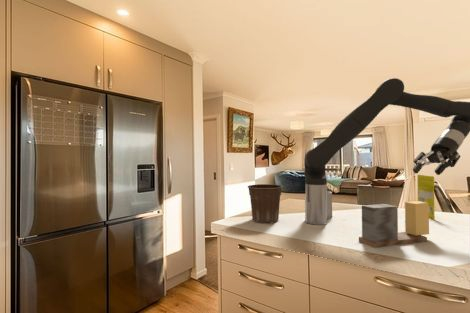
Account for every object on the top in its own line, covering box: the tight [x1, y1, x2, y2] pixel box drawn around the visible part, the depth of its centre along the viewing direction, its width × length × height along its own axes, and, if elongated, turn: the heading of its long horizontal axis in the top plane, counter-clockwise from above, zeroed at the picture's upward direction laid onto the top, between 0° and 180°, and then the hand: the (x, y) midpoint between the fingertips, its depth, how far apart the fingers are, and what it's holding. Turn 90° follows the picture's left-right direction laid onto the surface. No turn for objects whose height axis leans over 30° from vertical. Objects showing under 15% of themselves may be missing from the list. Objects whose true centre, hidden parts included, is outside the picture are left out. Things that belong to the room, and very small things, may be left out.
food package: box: [417, 174, 435, 220], centre depth 127 cm, size 15×1×20 cm, turn 168°
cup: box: [327, 190, 333, 219], centre depth 129 cm, size 9×9×12 cm
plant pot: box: [247, 183, 283, 224], centre depth 121 cm, size 16×16×16 cm
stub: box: [404, 200, 430, 236], centre depth 92 cm, size 6×4×11 cm, turn 106°
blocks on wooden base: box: [358, 203, 428, 249], centre depth 89 cm, size 22×7×12 cm, turn 106°
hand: (425, 172), depth 98 cm, fingers open, 8 cm apart
